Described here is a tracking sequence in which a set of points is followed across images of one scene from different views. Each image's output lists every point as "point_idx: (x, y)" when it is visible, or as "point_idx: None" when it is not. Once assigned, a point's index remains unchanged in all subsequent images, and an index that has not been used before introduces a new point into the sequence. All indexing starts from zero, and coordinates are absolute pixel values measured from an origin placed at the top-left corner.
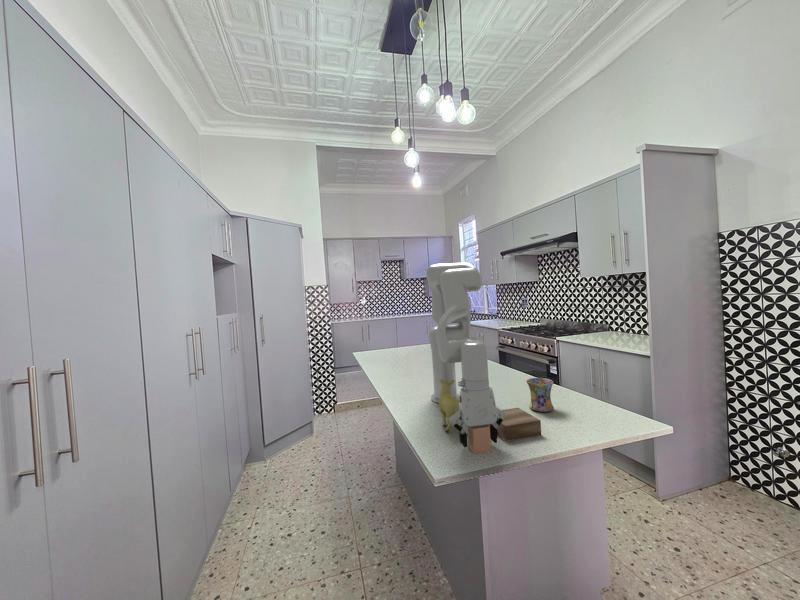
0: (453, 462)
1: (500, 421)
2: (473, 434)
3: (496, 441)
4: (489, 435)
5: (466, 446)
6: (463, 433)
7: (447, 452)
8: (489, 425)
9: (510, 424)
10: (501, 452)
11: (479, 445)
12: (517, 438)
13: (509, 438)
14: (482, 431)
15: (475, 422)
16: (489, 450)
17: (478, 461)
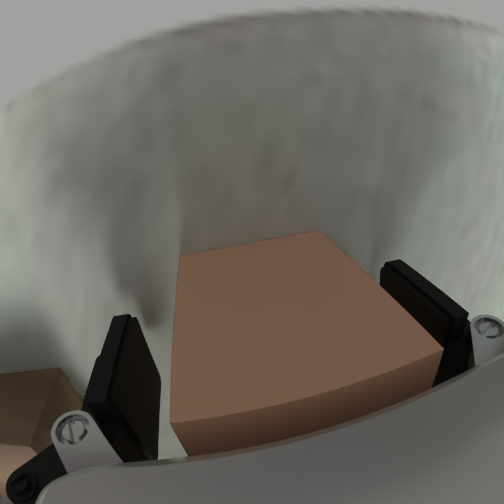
0: (462, 141)
1: (26, 478)
2: (402, 309)
3: (116, 319)
4: (182, 334)
5: (391, 263)
6: (474, 319)
7: (453, 261)
8: None
9: (5, 452)
10: (103, 226)
11: (293, 262)
12: (4, 377)
13: (38, 379)
14: (291, 357)
15: (482, 422)
16: (193, 256)
17: (326, 107)
